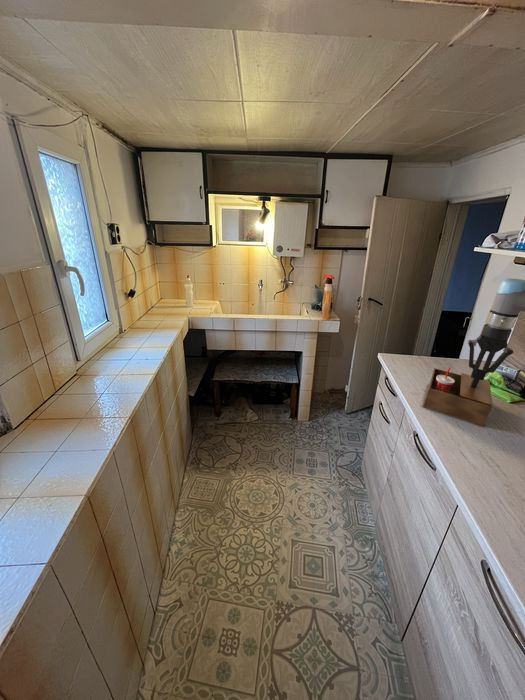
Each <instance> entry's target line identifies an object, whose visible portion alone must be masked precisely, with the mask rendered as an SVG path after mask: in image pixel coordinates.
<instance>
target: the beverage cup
mask: <svg viewBox="0 0 525 700" xmlns="http://www.w3.org/2000/svg"><path fill="white" fill-rule="evenodd" d="M450 370H451V367H450V366H449V367H448V369H447V370H446V371H447V374H446V376H445V375H437V378H436V383H435V387H434V389H435V390H438V391H442V392H445V393H449V391H450V389H451V387H452V385H453V384H454V382H455V381H454V379H452V378H451V377H448V373H449V372H450Z"/></svg>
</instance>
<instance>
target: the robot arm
mask: <svg viewBox="0 0 525 700" xmlns="http://www.w3.org/2000/svg"><path fill="white" fill-rule="evenodd" d="M521 312H524V313H525V279H520V278H505V279H503V280H502V281H501V282H500V285H499V287H498V289H497V291H496V294H495V297H494V299H493V302H492V305H491V307H490V309H489V312H488V314H487V317H486V320H485V324H484V325H483V327H482V330H481V332H480V334H479V336H477V338H476V339H469V340H468V341H467V344H468V347H469V353H468V354H469V355H468V356H469V357H468V367H469V368H471V369H472V371H471V373H470V375H471V378H473V380H472V383H471V387H473V388H476V387H477V385H478V382H479V380H484V379H485V378H486V376H487V374H488V373H491V374H493V373H495V372H496V370H497V369H498V368H499V367H500V366H501V365H502V363H503V362H504V361H505V360H506V359H507V358H508V356H511V355H512V354H514V350H513V348H512V347H510V346H509V344H508V341H509V338H510V336H511V334H512V331H513V330H512V329H513V328H514V327H515V324H516V322H517V320H518V317H519V316H520V314H521ZM477 344H478V347H479V349H480V351H479V353H478V356H477V357H476V361H475V363H474V359H475V347H476V346H477ZM502 350H503V352H502V353H500V355H499V356H498V357H497V358H496V360H495V361H494V362H493V363H492V361H493V359H494V357H495V355H496V353H499V352H500V351H502ZM486 353H488V354H487V358H486V359H485V361H484V364H483V367H482V369H480V367H481V364H482V362H483V360H484V358H485V355H486Z"/></svg>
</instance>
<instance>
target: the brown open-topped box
mask: <svg viewBox="0 0 525 700" xmlns="http://www.w3.org/2000/svg"><path fill="white" fill-rule="evenodd" d="M447 371H448V370H444V369H439V368H435V367H434V368H433V370H432V374H431V377H430V381H429V383H428V387H427V390H426V394H425V397H424V402H423V404H422V405H423V406H422V407H423V408H425V409H428V410H431V411H434V412H437V413H440V414H444V415H446V416H450V417H452V418H455V419H459V420H462V421H465V422H468V423H471V424H474V425H477V426H479V427H484V425H485V423H486V420H487V419H488V416H489V414H490V412H491V410H492V407H493V404H492V405H489V404H485V403H482V402H479V401H476V400H473V399H469V398H466V397H463V396H460V387H461V374H459V373H456V372H451V371H449V373H448V377H451V378H452V379H454V381H455V382H454V384H453V385H452V387H451V389H450V391H449V393H445V392H442V391H438V390H435V389H434V387H435V383H436V378H437V375H445V376H446V374H447Z"/></svg>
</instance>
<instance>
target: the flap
mask: <svg viewBox="0 0 525 700" xmlns="http://www.w3.org/2000/svg"><path fill="white" fill-rule="evenodd" d="M460 375H461V387H460V396H463V397H466V398H469V399H473V400H476V401H479V402H482V403H485V404H489V405H492V406H493V398H492V389H491V382H490V380H489V379H485V378H484V380H479V382H478V385H477V387H476V388H473V387H471V383H472V380H473V378H471V374H467V373H464V372H461V374H460Z"/></svg>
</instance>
